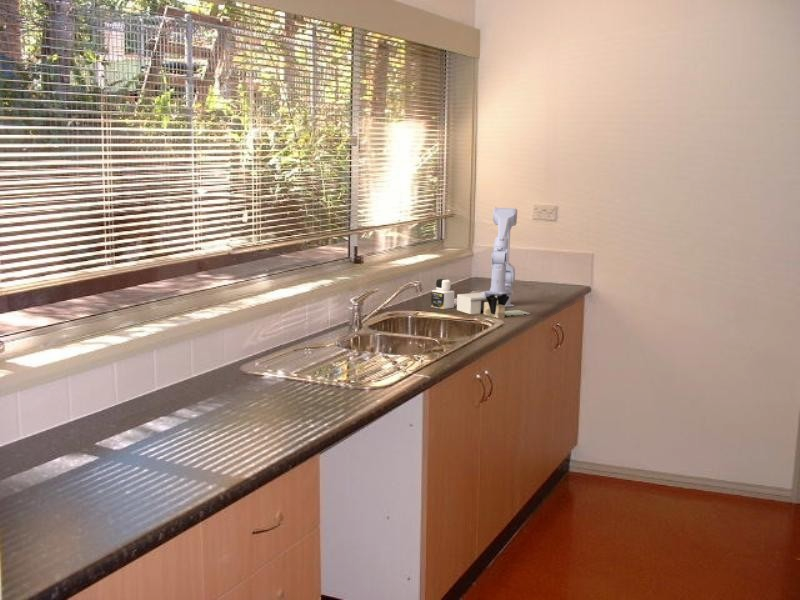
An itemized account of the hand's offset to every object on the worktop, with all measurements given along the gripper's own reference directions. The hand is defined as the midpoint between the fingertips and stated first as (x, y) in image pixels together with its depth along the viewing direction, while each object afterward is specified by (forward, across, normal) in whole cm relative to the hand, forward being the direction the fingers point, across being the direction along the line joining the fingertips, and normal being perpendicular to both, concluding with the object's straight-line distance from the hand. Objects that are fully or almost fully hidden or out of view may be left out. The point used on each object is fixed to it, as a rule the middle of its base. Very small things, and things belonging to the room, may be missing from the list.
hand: (496, 313), depth 386 cm
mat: (+1, +11, +4) cm, 12 cm away
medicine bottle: (+2, -9, +26) cm, 28 cm away
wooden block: (+1, 0, +2) cm, 2 cm away
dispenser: (+1, 0, +14) cm, 14 cm away
